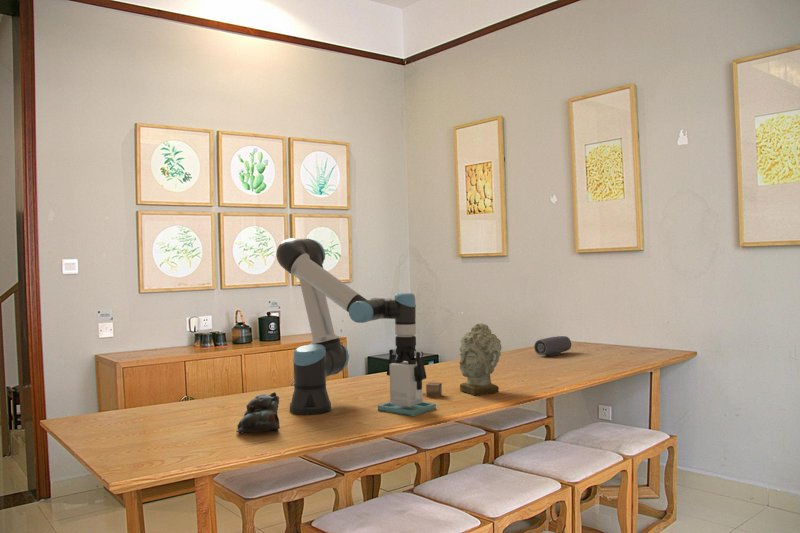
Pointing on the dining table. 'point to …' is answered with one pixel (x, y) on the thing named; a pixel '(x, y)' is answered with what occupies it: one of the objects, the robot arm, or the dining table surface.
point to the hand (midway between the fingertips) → (406, 396)
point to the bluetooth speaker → (552, 345)
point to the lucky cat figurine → (260, 414)
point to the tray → (407, 408)
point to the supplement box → (403, 385)
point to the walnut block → (433, 389)
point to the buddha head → (479, 360)
